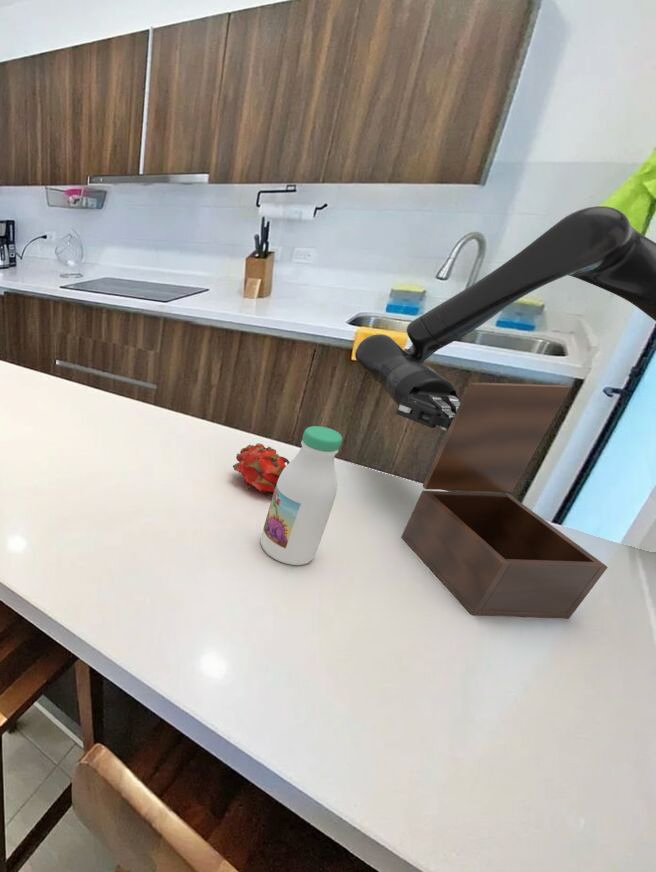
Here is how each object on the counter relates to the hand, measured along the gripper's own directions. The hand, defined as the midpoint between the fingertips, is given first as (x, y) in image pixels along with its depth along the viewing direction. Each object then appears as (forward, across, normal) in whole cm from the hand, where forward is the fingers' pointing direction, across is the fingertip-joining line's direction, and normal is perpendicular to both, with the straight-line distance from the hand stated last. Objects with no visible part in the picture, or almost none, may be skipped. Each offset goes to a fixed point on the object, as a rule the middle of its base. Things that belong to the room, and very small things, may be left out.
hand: (470, 436), depth 70 cm
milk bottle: (+8, -22, +18) cm, 30 cm away
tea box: (+8, +4, +18) cm, 20 cm away
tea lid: (0, +3, 0) cm, 3 cm away
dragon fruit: (-9, -23, +18) cm, 31 cm away
